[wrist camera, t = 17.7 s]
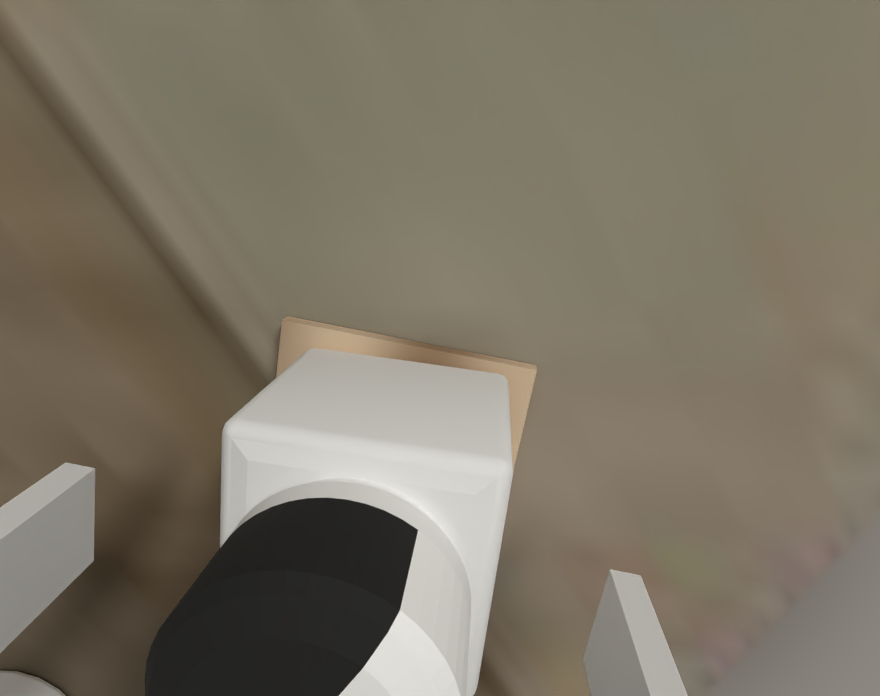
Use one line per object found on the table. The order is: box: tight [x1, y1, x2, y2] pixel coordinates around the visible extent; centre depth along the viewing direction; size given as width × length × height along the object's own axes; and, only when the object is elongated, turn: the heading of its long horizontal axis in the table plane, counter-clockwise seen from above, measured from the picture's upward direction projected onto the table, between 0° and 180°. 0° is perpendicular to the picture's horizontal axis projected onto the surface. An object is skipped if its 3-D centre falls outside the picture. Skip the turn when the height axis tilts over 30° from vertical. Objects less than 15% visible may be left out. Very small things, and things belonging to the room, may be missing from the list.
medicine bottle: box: [145, 348, 513, 696], centre depth 16 cm, size 7×7×12 cm
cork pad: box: [276, 316, 537, 469], centre depth 22 cm, size 9×9×1 cm
